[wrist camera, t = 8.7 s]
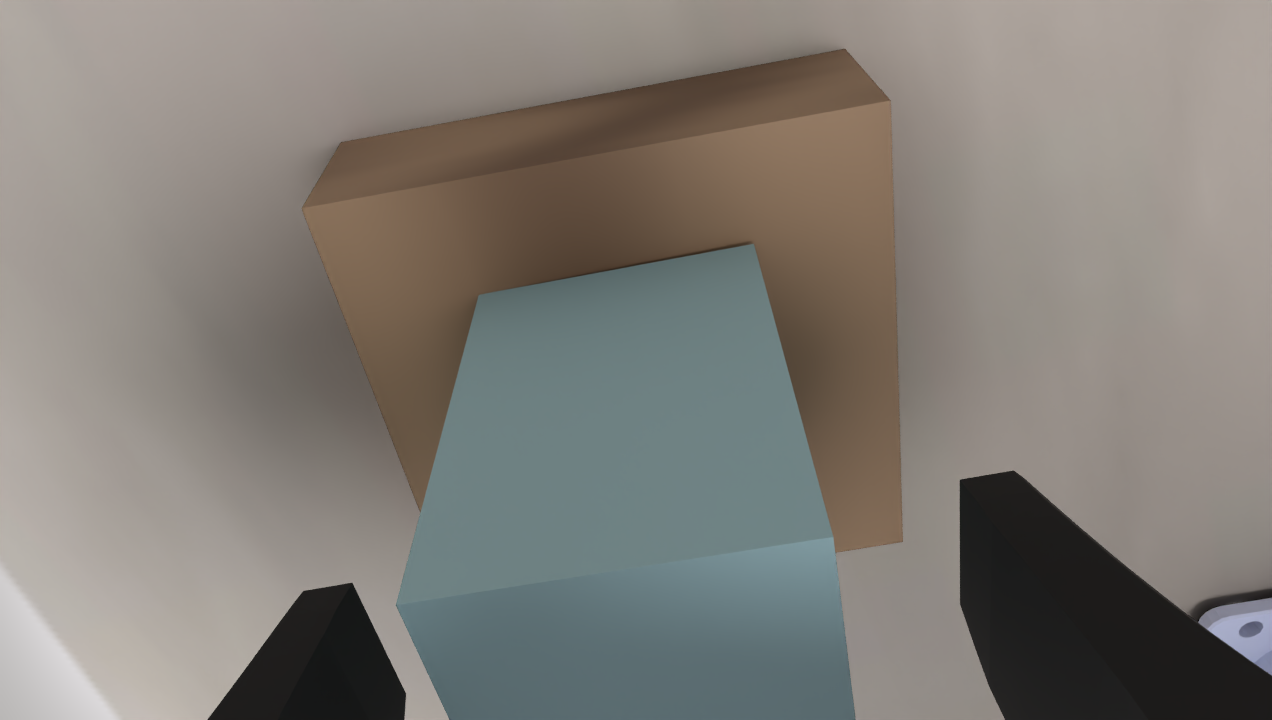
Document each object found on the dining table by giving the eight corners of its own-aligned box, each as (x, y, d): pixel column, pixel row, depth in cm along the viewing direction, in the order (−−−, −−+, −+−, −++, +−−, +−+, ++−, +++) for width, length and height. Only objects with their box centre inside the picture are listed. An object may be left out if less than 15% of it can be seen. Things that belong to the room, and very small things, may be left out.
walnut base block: (838, 41, 15) (890, 100, 13) (860, 438, 19) (903, 541, 17) (346, 132, 16) (301, 208, 13) (474, 502, 20) (459, 613, 17)
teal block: (753, 243, 14) (833, 537, 8) (786, 464, 16) (865, 806, 11) (478, 294, 14) (395, 605, 9) (546, 503, 16) (512, 851, 11)
